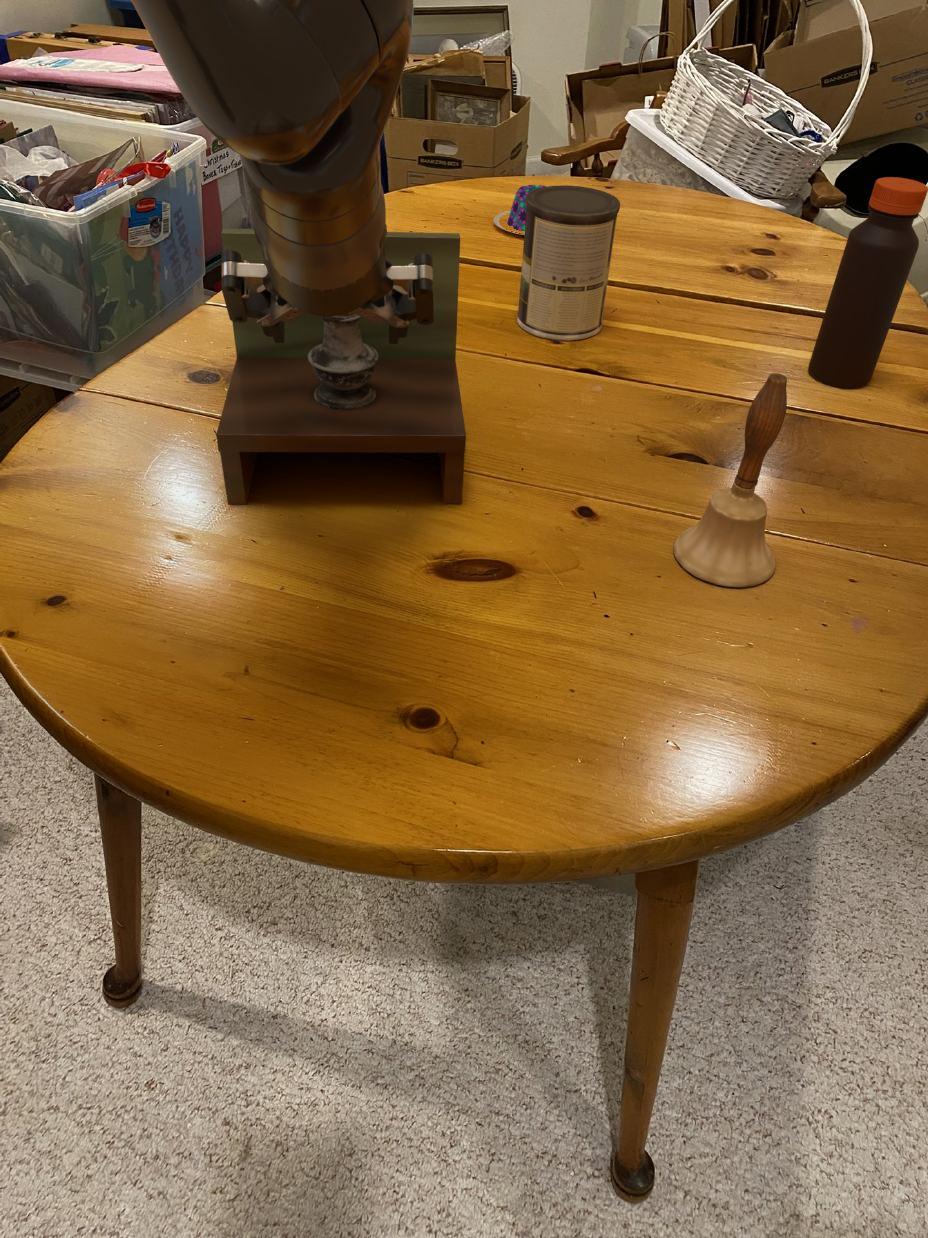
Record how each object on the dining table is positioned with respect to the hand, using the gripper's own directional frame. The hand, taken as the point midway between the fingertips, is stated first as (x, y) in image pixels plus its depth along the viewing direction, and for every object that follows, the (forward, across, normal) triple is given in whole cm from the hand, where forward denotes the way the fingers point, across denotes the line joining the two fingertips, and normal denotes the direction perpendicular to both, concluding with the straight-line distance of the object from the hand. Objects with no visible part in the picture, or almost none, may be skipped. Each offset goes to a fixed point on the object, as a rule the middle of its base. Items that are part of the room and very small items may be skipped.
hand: (336, 331), depth 70 cm
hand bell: (+5, -31, +17) cm, 36 cm away
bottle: (+28, -54, -6) cm, 61 cm away
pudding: (+62, -26, -40) cm, 78 cm away
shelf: (+15, 0, +7) cm, 16 cm away
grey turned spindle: (+10, 0, +2) cm, 10 cm away
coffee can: (+37, -24, -16) cm, 47 cm away
